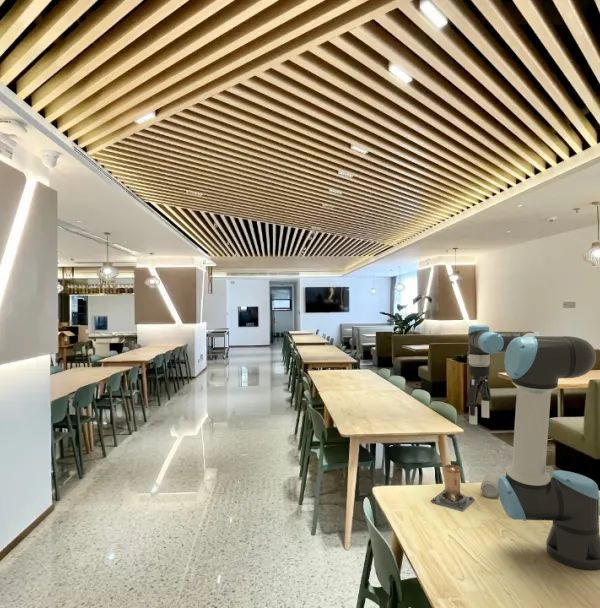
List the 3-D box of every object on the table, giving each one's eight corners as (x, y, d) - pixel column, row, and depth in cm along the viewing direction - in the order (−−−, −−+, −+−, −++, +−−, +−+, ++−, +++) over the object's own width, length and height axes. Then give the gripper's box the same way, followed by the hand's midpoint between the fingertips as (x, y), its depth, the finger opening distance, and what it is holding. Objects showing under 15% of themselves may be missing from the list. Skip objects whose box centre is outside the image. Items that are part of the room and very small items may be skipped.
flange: (474, 500, 173) (474, 495, 173) (462, 511, 163) (462, 505, 164) (443, 492, 180) (443, 487, 180) (430, 502, 171) (430, 497, 171)
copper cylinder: (463, 499, 172) (462, 466, 172) (457, 504, 168) (457, 471, 168) (448, 495, 176) (447, 463, 176) (441, 500, 172) (441, 467, 172)
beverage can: (478, 494, 176) (482, 484, 187) (496, 501, 173) (499, 490, 184) (482, 478, 176) (486, 469, 186) (500, 485, 173) (503, 475, 183)
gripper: (480, 361, 190) (480, 413, 190) (457, 367, 171) (457, 425, 170) (499, 363, 185) (499, 416, 185) (477, 369, 166) (478, 428, 166)
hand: (479, 420), depth 178 cm, fingers open, 13 cm apart
